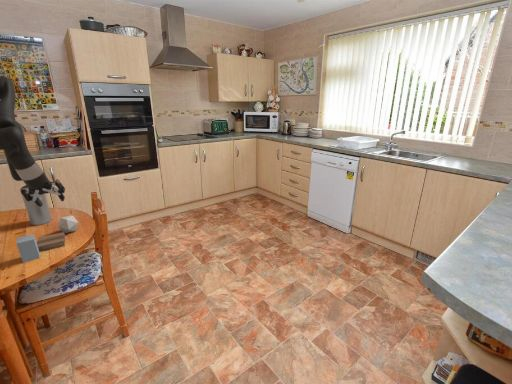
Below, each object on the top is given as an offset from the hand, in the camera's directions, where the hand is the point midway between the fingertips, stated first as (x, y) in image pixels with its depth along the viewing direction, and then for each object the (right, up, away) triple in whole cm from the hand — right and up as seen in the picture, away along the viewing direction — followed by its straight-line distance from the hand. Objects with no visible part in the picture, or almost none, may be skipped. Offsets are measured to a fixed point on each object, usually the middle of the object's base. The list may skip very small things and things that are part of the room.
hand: (52, 202), depth 121 cm
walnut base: (-4, -20, +5) cm, 21 cm away
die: (-4, -15, +17) cm, 23 cm away
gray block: (-5, -23, -5) cm, 24 cm away
